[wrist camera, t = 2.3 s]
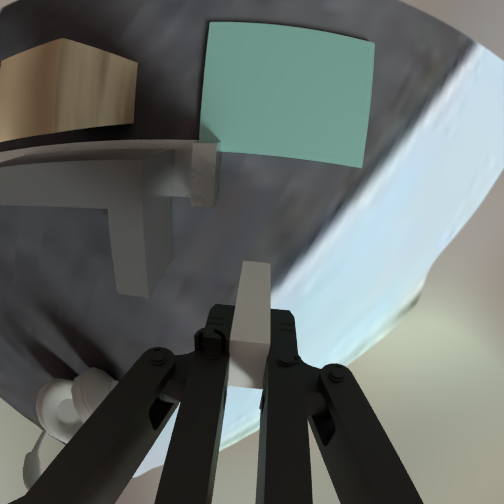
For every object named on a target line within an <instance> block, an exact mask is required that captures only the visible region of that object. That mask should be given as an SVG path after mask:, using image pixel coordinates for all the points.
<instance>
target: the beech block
mask: <svg viewBox="0 0 504 504" xmlns="http://www.w3.org/2000/svg"><path fill="white" fill-rule="evenodd" d="M137 68H138V63H137V62H134V61H132V60H129V59H126V58H124V57H121V56H118V55H115V54H112V53H110V52H107V51H104V50H101V49H98V48H95V47H92V46H88V45H85V44H82V43H79V42H75V41H72V40H68V39H65V38H60V39H57V40H54V41H51V42H48V43H45V44H42V45H39V46H37V47H34V48H31V49H29V50H26V51H24V52H21V53H19V54H16V55H14V56H12V57H9V58H7V59H5V60H3V61H1V69H0V142H3V141H8V140H13V139H19V138H24V137H30V136H37V135H43V134H50V133H57V132H63V131H70V130H76V129H84V128H92V127H100V126H110V125H120V124H133V123H134V105H135V90H136V78H137Z"/></svg>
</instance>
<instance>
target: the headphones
mask: <svg viewBox="0 0 504 504" xmlns="http://www.w3.org/2000/svg"><path fill="white" fill-rule="evenodd" d="M118 382H119V381H116V380H114V379H113V378H112V377H111V376H110V375H108V374H107V373H106V372H105V371H103V370H101V369H98V368H95V367H92V368H90V369H88V370H86V371H84V373H83V374H81V375H79V376H78V377H76V378H74V381H71V380H67V379H59V378H57V379H54V380H52V381H49V382H47V383H45V385H44V386H43V387H42V389H41V390H40V391H39V393H38V396H37V402H36V411H37V415H38V419H39V422H40V424H41V425H42V426H43V427H44V430H43V432H42V433H41V435H40V437H39V439H38V440H37V442H36V444H35V446H34V449H33V450H32V452H29V453H28V454H27V455H26V457H25V461H24V467H23V479H24V484H25V486H26V488H27V489H28V491H29V490H30V488H31V487H32V486H33V485H34V483H35V482H36V481H37V480H38V478H39V477H40V476H41V465H40V459H39V451H40V448H41V446H42V443H43V441H44V439H45V437H46V435H47V434H49V435H51V436H53V437H55V438H57V439H59V440H61V441H63V442H65V443H68V442H69V441H70V439H71V438H72V437H73V436H74V435H75V433H76V432H77V431H78V430H79V429H80V427H81V426H82V425H83V424H84V423H85V421H86V420H87V419H88V418H89V417H90V416H91V414H92V413H93V412H94V411H95V410H96V408H97V407H98V406H99V405H100V404H101V402H102V401H103V400H104V399H105V398H106V397H107V395H108V394H109V393H110V392H111V391H112V389H113V388H114V387H115V386H116V385H117V384H118Z"/></svg>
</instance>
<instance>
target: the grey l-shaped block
mask: <svg viewBox="0 0 504 504" xmlns="http://www.w3.org/2000/svg"><path fill="white" fill-rule="evenodd" d="M172 158H173V149H104V150H83V151H68V152H55V153H45V154H35V155H26V156H20V157H17V158H13V159H10V160H7V161H4V162H1V163H0V205H15V206H52V207H78V208H100V209H108V221H109V232H110V242H111V251H112V259H113V267H114V274H115V281H116V287H117V293H119V294H125V295H132V296H139V297H146V298H149V297H150V296H151V294H152V292H153V290H154V289H155V287H156V285H157V284H158V282H159V280H160V279H161V277H162V275H163V274H164V272H165V270H166V269H167V267H168V265H169V264H170V262H171V260H172V259H173V256H172Z"/></svg>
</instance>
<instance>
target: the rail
mask: <svg viewBox="0 0 504 504" xmlns="http://www.w3.org/2000/svg"><path fill="white" fill-rule="evenodd" d="M104 149H173V158H172V196H175V197H191V206H199V207H212V208H213V207H214V205H215V204H216V202H217V200H218V198H219V181H220V165H221V151H220V149H221V142H216V141H199V140H177V139H137V140H107V141H90V142H76V143H65V144H55V145H46V146H37V147H30V148H22V149H16V150H9V151H3V152H0V163H1V162H4V161H7V160H10V159H13V158H17V157H20V156H26V155H35V154H45V153H55V152H68V151H83V150H104Z"/></svg>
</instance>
